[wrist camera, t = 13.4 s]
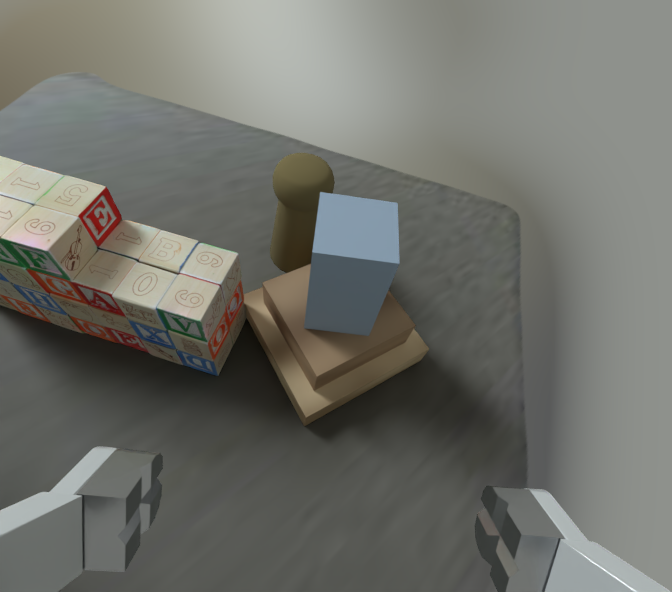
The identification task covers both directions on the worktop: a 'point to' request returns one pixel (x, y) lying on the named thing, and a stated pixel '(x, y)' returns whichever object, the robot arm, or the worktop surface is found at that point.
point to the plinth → (339, 387)
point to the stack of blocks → (113, 271)
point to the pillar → (351, 263)
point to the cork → (297, 208)
